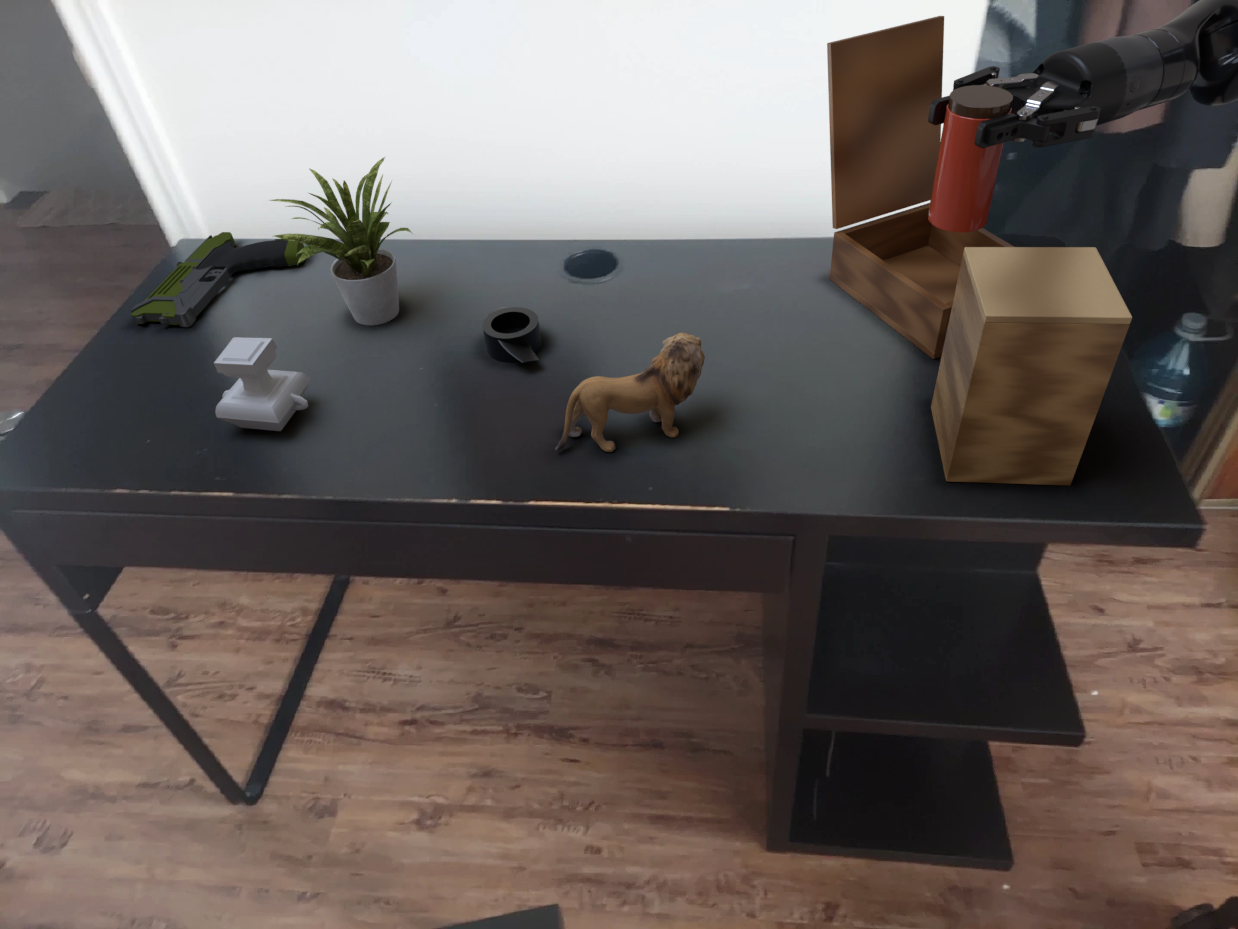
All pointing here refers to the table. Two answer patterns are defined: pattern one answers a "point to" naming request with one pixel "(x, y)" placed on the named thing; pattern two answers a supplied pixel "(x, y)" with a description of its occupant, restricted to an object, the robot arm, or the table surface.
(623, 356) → the table surface
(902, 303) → the wooden box
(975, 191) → the spice jar
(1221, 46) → the robot arm
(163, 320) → the gun
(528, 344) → the duct tape
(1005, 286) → the cork trivet
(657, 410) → the lion figurine
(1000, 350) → the oak stand
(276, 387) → the stamp
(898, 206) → the box lid
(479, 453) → the table surface
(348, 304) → the house plant
